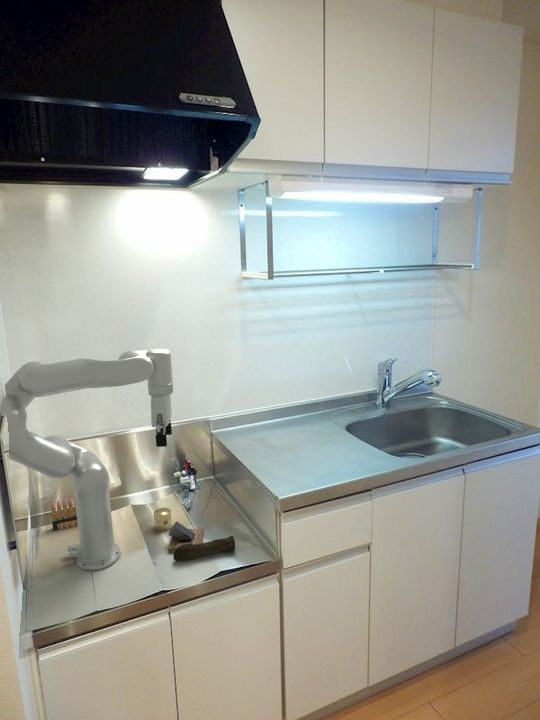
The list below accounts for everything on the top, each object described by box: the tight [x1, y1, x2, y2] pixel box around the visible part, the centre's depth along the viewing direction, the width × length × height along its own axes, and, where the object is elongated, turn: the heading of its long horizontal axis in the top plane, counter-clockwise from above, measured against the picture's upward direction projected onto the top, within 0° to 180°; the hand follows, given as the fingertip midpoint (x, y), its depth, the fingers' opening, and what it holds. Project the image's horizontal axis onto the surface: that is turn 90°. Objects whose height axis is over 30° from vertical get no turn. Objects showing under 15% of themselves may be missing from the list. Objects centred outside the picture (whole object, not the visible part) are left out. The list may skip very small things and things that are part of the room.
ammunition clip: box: [50, 497, 78, 532], centre depth 154 cm, size 11×2×12 cm, turn 113°
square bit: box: [168, 521, 194, 543], centre depth 146 cm, size 3×3×7 cm
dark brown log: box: [172, 535, 236, 562], centre depth 140 cm, size 19×4×5 cm, turn 106°
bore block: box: [168, 527, 205, 554], centre depth 146 cm, size 10×10×2 cm
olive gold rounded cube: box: [153, 507, 173, 533], centre depth 154 cm, size 6×6×6 cm
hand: (164, 440), depth 145 cm, fingers open, 9 cm apart
